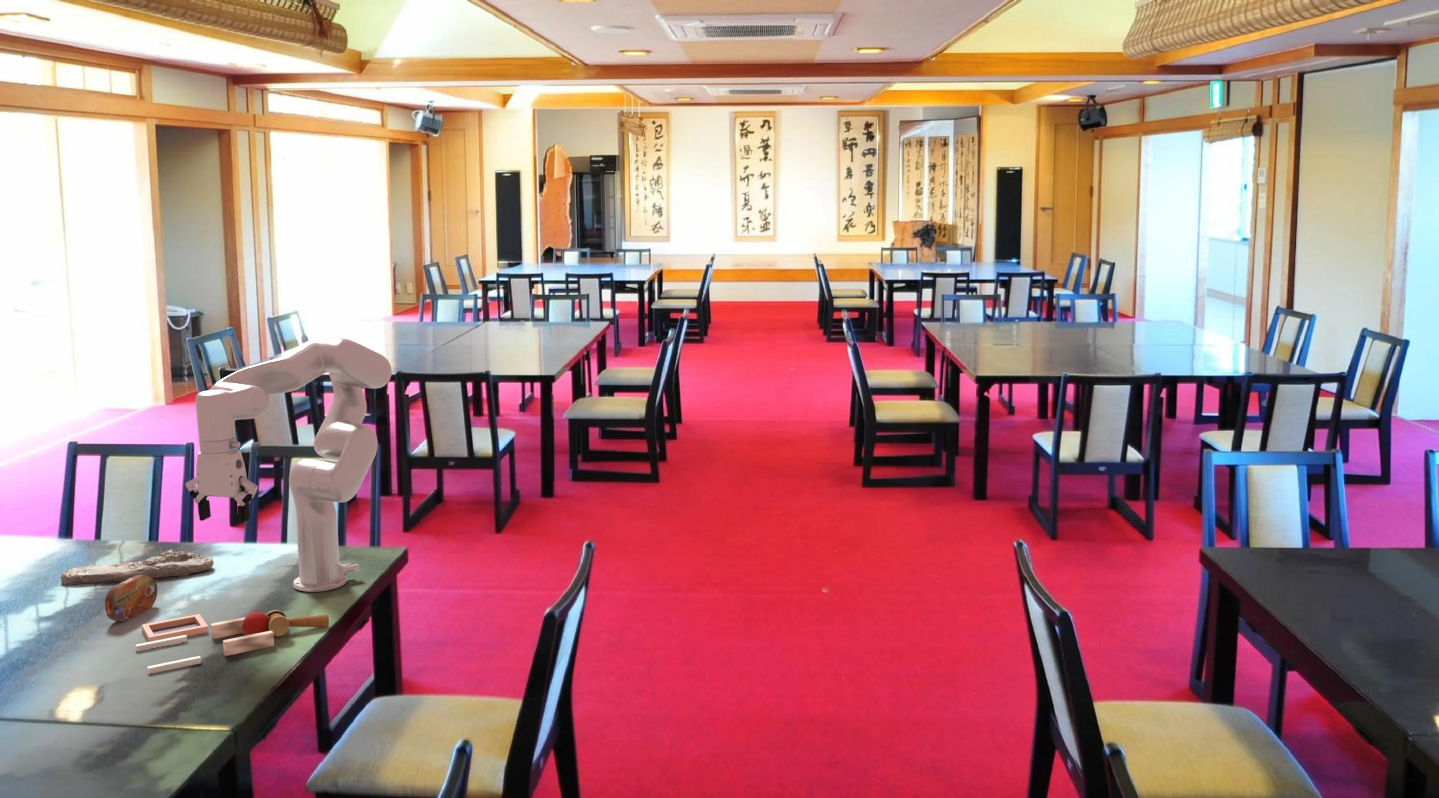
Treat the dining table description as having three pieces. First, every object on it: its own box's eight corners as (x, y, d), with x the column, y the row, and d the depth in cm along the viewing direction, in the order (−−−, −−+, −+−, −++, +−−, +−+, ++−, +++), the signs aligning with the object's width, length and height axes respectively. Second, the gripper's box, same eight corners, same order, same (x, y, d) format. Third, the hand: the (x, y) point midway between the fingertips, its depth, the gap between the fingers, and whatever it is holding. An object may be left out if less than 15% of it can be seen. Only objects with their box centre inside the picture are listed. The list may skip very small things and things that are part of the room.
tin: (116, 627, 269) (113, 591, 268) (103, 625, 270) (100, 590, 268) (159, 604, 284) (157, 569, 282) (148, 603, 284) (145, 569, 283)
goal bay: (186, 639, 262) (185, 634, 261) (201, 663, 249) (200, 657, 249) (135, 649, 256) (135, 644, 256) (148, 674, 244) (148, 668, 244)
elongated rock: (67, 581, 303) (59, 596, 294) (63, 562, 302) (55, 576, 293) (215, 561, 314) (213, 575, 305) (213, 542, 313) (210, 555, 303)
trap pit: (199, 620, 273) (199, 613, 273) (208, 632, 266) (208, 626, 266) (142, 631, 267) (141, 624, 266) (149, 644, 259) (149, 637, 259)
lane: (258, 627, 269) (258, 614, 269) (274, 645, 259) (273, 632, 258) (211, 636, 264) (210, 623, 263) (225, 655, 253) (224, 642, 252)
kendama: (322, 625, 274) (238, 629, 265) (325, 601, 273) (241, 603, 264) (328, 642, 268) (243, 647, 259) (332, 617, 266) (246, 620, 257)
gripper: (262, 443, 268) (268, 517, 271) (194, 440, 271) (200, 513, 274) (243, 451, 260) (249, 527, 264) (172, 448, 264) (179, 522, 267)
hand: (224, 520), depth 269 cm, fingers open, 9 cm apart
